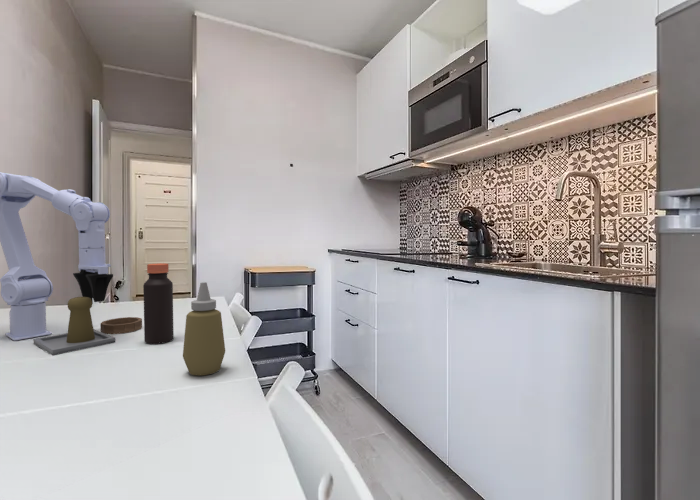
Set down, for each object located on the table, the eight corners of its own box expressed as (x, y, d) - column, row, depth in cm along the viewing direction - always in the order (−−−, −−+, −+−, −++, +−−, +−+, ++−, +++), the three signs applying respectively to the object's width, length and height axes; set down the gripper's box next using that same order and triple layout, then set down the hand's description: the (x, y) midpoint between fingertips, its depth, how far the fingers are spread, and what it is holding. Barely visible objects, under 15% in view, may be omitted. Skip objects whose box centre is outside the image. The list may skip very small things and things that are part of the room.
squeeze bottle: (190, 364, 79) (189, 280, 78) (229, 363, 80) (229, 280, 79) (176, 379, 71) (174, 285, 70) (219, 378, 72) (218, 285, 71)
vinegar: (152, 346, 92) (150, 265, 91) (139, 341, 96) (138, 264, 95) (178, 340, 98) (177, 264, 97) (165, 335, 102) (164, 262, 101)
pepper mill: (81, 343, 92) (80, 299, 92) (59, 342, 93) (58, 298, 93) (100, 337, 98) (100, 295, 98) (80, 336, 99) (79, 295, 99)
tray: (33, 343, 94) (33, 338, 94) (92, 332, 104) (92, 328, 104) (52, 355, 85) (52, 350, 85) (115, 342, 95) (115, 337, 95)
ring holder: (95, 330, 107) (95, 321, 107) (132, 323, 115) (132, 315, 115) (109, 336, 101) (109, 327, 101) (147, 328, 109) (147, 320, 109)
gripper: (120, 248, 96) (122, 300, 97) (98, 247, 105) (100, 295, 105) (88, 249, 90) (90, 304, 91) (68, 247, 99) (70, 298, 100)
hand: (93, 299), depth 98 cm, fingers open, 7 cm apart
